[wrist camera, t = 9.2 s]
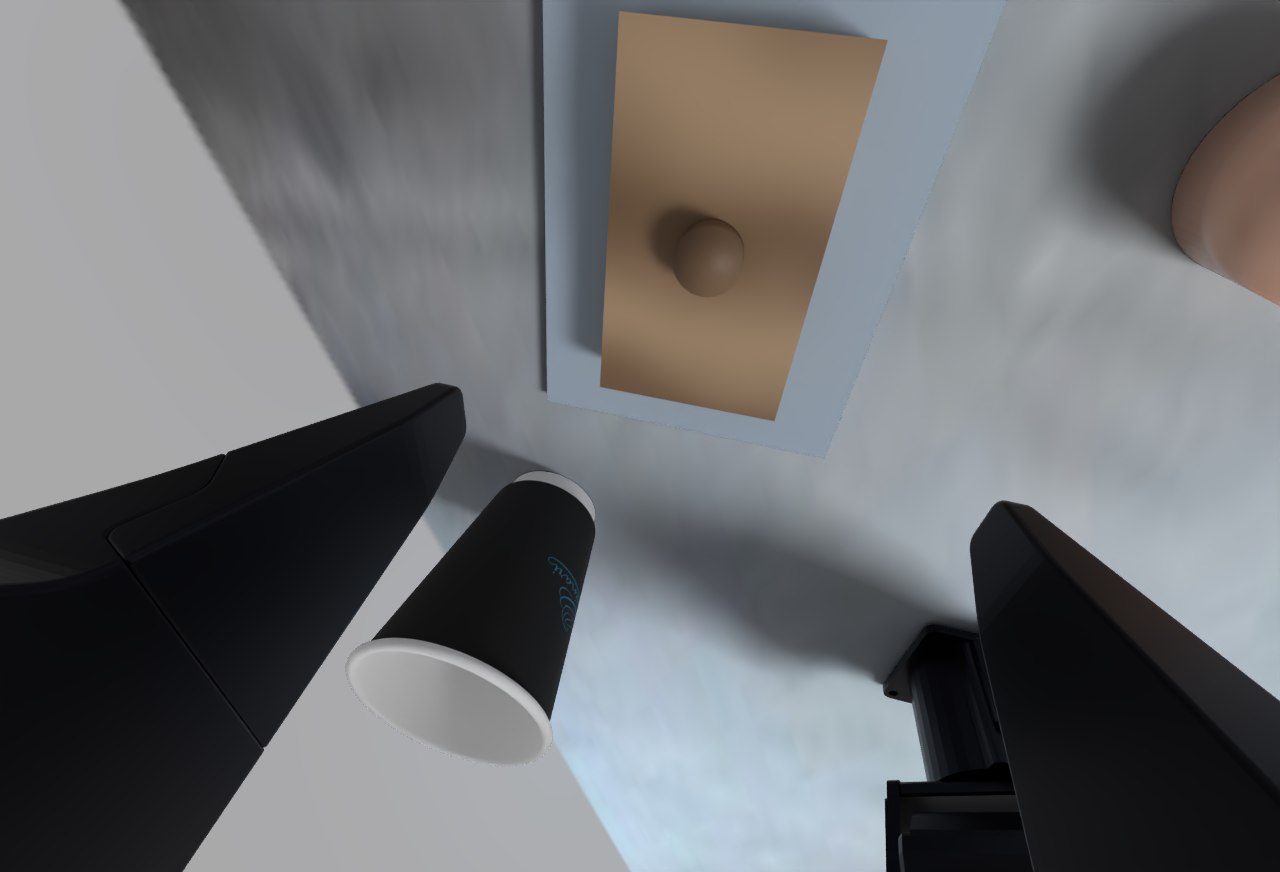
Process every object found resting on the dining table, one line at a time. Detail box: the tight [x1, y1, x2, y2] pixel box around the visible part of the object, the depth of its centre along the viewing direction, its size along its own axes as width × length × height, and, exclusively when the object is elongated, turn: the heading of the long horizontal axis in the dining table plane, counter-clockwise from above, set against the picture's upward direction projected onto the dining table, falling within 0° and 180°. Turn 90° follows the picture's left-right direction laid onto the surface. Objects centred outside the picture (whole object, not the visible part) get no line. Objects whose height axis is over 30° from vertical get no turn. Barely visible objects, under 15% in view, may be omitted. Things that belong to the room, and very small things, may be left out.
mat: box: [543, 0, 1007, 459], centre depth 18 cm, size 16×12×1 cm
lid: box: [600, 11, 888, 421], centre depth 17 cm, size 11×6×3 cm, turn 175°
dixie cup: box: [346, 471, 595, 766], centre depth 24 cm, size 8×8×11 cm
